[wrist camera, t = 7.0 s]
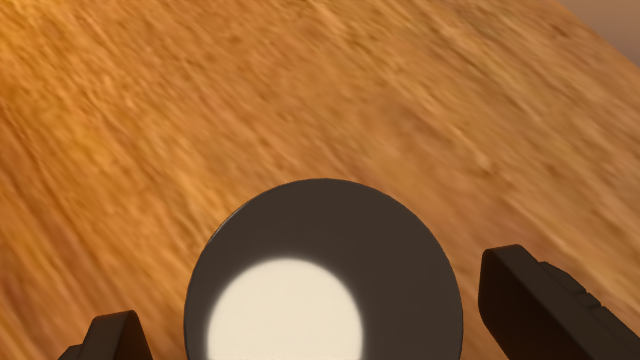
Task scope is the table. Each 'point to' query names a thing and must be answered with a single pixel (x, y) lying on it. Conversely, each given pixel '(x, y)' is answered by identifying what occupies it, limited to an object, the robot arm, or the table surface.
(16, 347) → the table surface
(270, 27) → the table surface
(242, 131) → the table surface
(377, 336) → the dark brown cylinder
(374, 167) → the table surface
